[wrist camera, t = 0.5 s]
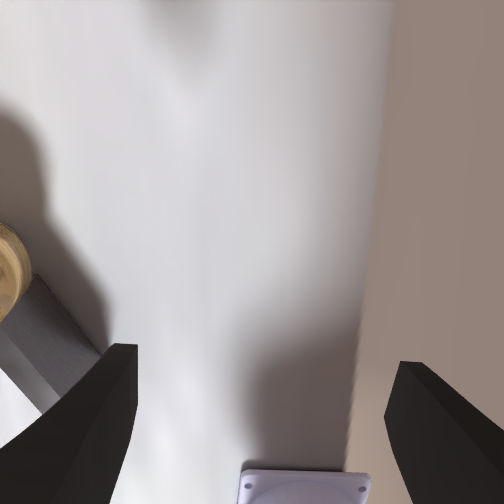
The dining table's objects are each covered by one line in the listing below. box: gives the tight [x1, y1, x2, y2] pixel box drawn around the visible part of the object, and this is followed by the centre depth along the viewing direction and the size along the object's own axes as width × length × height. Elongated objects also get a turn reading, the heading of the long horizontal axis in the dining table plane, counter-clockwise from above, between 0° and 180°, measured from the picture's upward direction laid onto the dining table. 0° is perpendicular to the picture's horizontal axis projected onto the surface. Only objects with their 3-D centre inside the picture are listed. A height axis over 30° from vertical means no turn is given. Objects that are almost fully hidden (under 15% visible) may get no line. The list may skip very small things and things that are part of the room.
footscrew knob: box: [0, 223, 101, 414], centre depth 19 cm, size 10×4×4 cm, turn 25°
